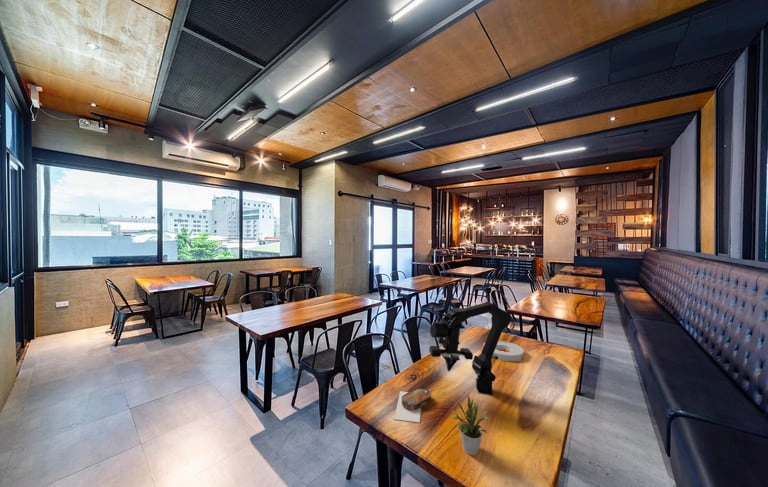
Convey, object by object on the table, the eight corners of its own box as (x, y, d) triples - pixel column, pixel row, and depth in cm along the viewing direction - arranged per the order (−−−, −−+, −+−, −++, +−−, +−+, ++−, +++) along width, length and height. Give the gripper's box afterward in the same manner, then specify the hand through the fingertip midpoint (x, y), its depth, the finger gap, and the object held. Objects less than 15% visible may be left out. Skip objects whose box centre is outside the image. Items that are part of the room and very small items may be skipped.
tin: (411, 407, 113) (397, 396, 120) (411, 414, 114) (397, 403, 120) (435, 393, 123) (420, 384, 130) (434, 400, 124) (420, 391, 130)
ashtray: (531, 362, 162) (531, 355, 162) (491, 361, 162) (491, 355, 162) (513, 346, 185) (513, 340, 185) (478, 346, 186) (478, 340, 185)
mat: (421, 394, 128) (421, 393, 128) (419, 422, 108) (419, 422, 108) (400, 391, 130) (400, 391, 130) (394, 419, 110) (394, 419, 110)
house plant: (444, 431, 104) (444, 387, 103) (481, 432, 103) (482, 388, 103) (452, 462, 90) (453, 412, 89) (495, 463, 89) (497, 413, 89)
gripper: (466, 332, 135) (462, 363, 136) (428, 329, 134) (424, 360, 135) (475, 341, 124) (470, 375, 125) (434, 338, 123) (430, 372, 124)
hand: (448, 370), depth 127 cm, fingers closed
